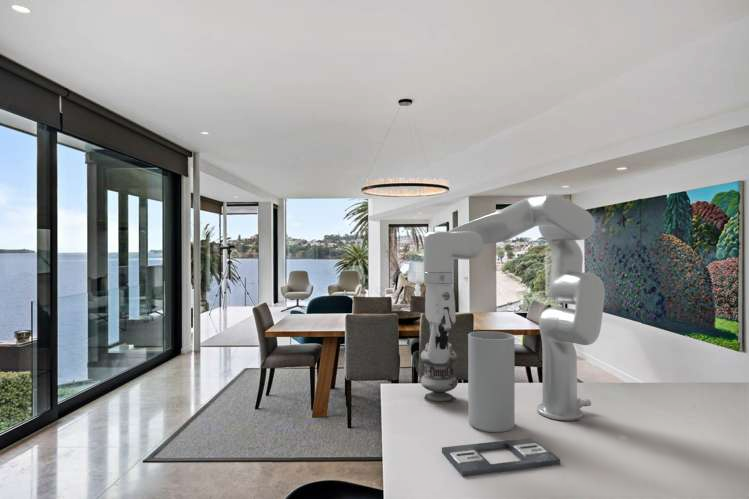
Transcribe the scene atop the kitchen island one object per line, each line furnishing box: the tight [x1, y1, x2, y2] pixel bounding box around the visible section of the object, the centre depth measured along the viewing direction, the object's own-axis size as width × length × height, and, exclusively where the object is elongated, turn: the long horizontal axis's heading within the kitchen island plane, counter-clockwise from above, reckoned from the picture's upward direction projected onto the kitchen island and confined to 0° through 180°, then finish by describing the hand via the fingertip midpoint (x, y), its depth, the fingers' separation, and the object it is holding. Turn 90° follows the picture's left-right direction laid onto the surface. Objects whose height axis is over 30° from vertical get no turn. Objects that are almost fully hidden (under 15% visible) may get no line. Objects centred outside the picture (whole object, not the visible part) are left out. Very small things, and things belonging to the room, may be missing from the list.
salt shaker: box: [427, 318, 450, 364], centre depth 117 cm, size 6×6×13 cm
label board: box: [441, 437, 561, 478], centre depth 106 cm, size 24×12×2 cm, turn 103°
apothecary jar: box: [420, 342, 459, 405], centre depth 148 cm, size 12×12×18 cm
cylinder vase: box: [467, 330, 516, 434], centre depth 126 cm, size 12×12×25 cm
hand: (438, 349), depth 117 cm, fingers closed on salt shaker, 3 cm apart
